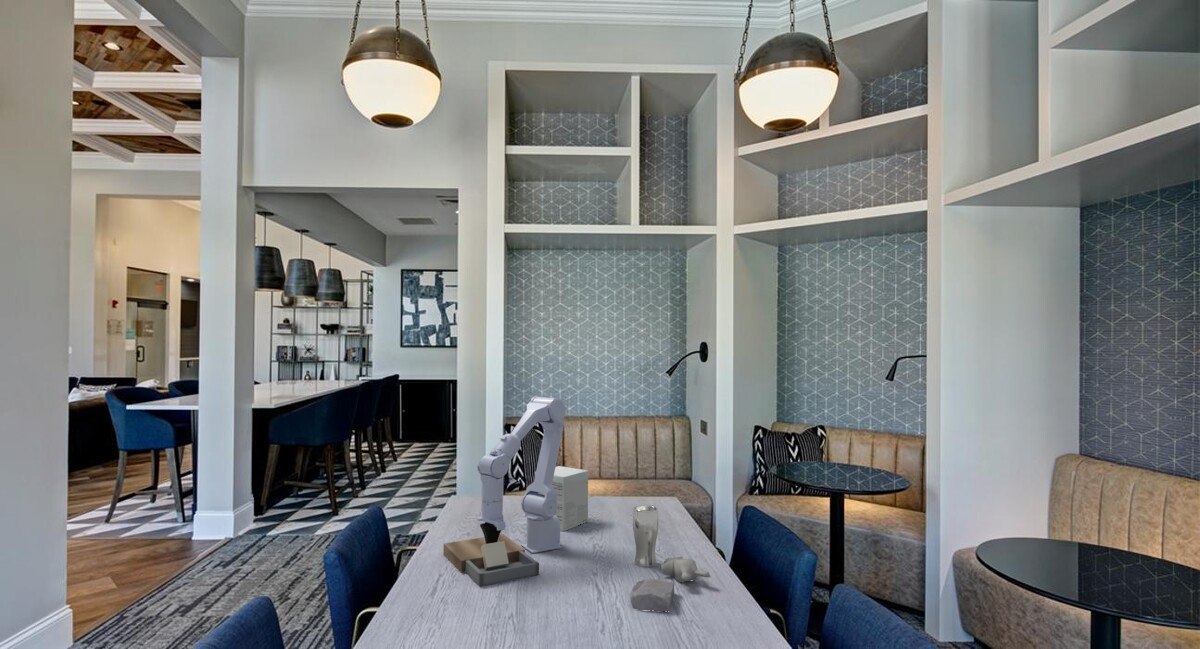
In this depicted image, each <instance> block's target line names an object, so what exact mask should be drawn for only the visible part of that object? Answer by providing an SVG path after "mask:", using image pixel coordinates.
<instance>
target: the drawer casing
mask: <svg viewBox="0 0 1200 649" xmlns="http://www.w3.org/2000/svg"><path fill="white" fill-rule="evenodd" d="M501 541H504V542H505V547H506V552H507V557H508V562H509V563H511V562H516V561H519V551H523V552H524V553H526V552H525V551H526V549H525V548H524V547H523V546H520V545H519V544H517V543H516V542H515V541H513V540H512V539H511V538H510V537H508V536H506V535H505V534H501V533H500V535H499V538H498V541H497V542H501ZM483 544H486V542H485V537H478V538H470V539H463V540H457V541H452V542H446V543H443V552H442V553H443V555H444V556H445V557H446V558H447V559H448V561H449V562H450V563H452V565H453V566H454V567H455V568H456V570H458V571H459V572H460V573H466V572H465V571H466V561H467V560H470V561H471V562H472V563H473V564H474V565H475V566H476V567H477V568H484V561H483V556H482V550H481V546H482V545H483Z"/></svg>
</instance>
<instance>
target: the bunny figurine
mask: <svg viewBox="0 0 1200 649" xmlns="http://www.w3.org/2000/svg"><path fill="white" fill-rule="evenodd" d="M661 573H662V575H666V576H671V577H674V579H676V580H677V581H676V580H675V581H676V582H679V583H681V582H684V583H685V582H686V581H687V582H688V581H690V580H694V581H695V580H697V579H698V576H700V577H703V578H711V574H710V572H709V571H708V570H700V569H698V567H697V564H696V561H695V560H694V559H692V558H684V557H683V556H679V557H678V556H677V557H670V558H665V560H664V561H663V564H661Z"/></svg>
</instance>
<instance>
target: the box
mask: <svg viewBox="0 0 1200 649" xmlns="http://www.w3.org/2000/svg"><path fill="white" fill-rule="evenodd" d="M464 573H465V574H467V576H469V578H470V579H471V580H472V581H473V582H474V583H475V584H476V585H477V586H478V587H486V586H491V585H496V584H501V583H506V582H509V581H510V582H511V581H516V580H519V579H520V580H521V579H526V578H530V577H535V576H536V577H537V576H539V575H540V562H538V561H536V559H534V558H533V557H531V556H530V555H528V554H527V553H526V552H525V553H524V552H523V551H519V561H516V562H511V563H509V564H508V565H507V566H503V567H497V568H492V569H486V570H485V567H484V568H477V567H476V566H475V565H474V564H473V563H472V562H471V561H470V560H467V561H466V571H465V572H464Z"/></svg>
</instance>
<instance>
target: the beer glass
mask: <svg viewBox="0 0 1200 649" xmlns="http://www.w3.org/2000/svg"><path fill="white" fill-rule="evenodd" d="M658 509H659V508H658V507H656V506H653V505H648V504H647V505H645V504H641V505H635V506H634V507H633V515H632V530H633V531H632V532H633V538H634V544H635V558H634V561H633V562H634V565H635V566H637V567H640V566H641V568H652V567H654V566H656V565H657V558H656V545H657V539H658V533H659V513H658V512H659V511H658Z"/></svg>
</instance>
